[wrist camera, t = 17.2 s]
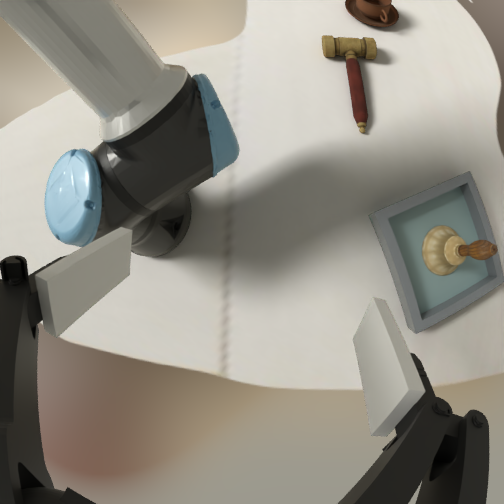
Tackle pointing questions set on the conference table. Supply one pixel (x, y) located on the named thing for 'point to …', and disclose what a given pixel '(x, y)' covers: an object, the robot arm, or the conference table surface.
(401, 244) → the box
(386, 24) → the cup and saucer
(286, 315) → the conference table surface
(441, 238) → the hand bell
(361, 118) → the gavel
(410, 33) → the conference table surface
